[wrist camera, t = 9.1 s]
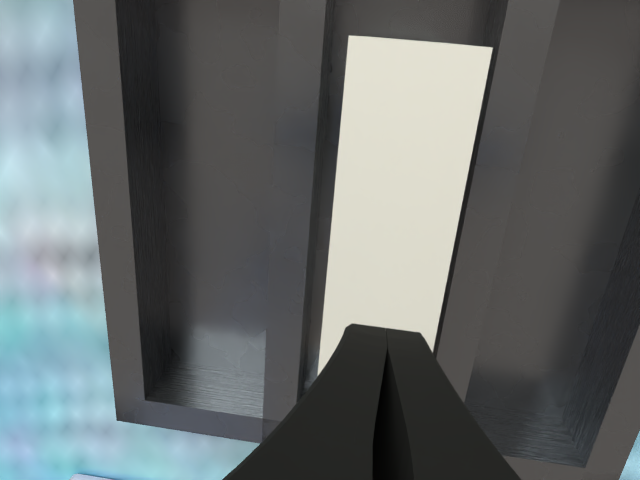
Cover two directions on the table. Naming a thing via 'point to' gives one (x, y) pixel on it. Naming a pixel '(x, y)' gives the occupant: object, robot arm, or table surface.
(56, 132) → the table surface
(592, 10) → the rack
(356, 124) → the blanking panel
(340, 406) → the robot arm
